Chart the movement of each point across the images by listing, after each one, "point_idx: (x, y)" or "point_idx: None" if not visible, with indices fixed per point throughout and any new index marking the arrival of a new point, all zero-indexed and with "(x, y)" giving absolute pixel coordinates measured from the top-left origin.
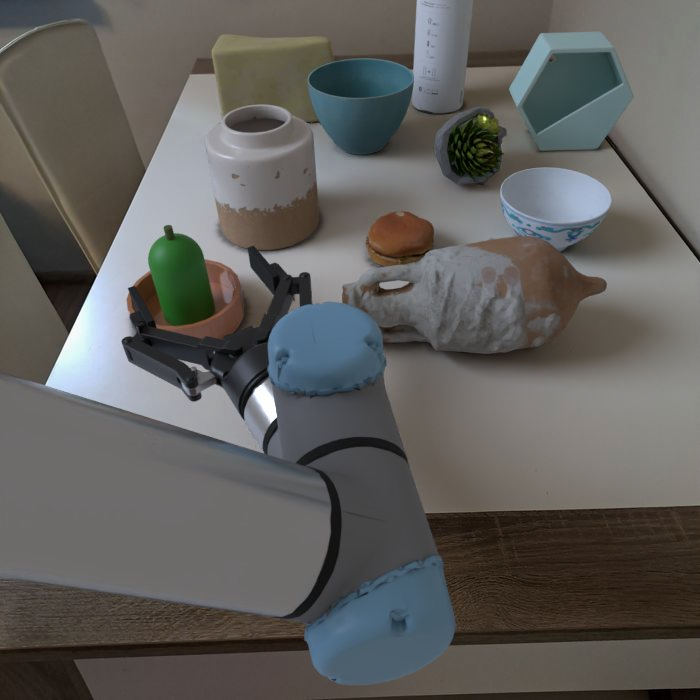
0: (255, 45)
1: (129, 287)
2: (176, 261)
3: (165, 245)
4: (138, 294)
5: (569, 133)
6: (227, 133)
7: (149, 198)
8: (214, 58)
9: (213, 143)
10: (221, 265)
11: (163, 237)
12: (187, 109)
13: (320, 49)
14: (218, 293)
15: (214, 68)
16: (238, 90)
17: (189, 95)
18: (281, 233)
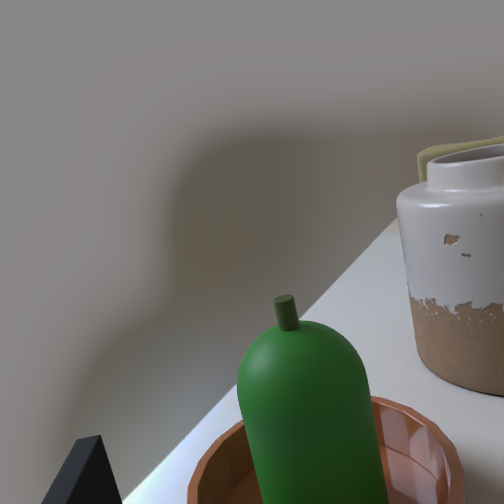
0: (474, 142)
1: (82, 438)
2: (289, 383)
3: (272, 341)
4: (78, 472)
5: None
6: (437, 171)
7: (319, 311)
8: (420, 161)
9: (411, 195)
10: (413, 414)
11: (276, 326)
12: (386, 235)
13: None
14: (403, 481)
15: (419, 174)
16: None
17: (390, 226)
18: None
